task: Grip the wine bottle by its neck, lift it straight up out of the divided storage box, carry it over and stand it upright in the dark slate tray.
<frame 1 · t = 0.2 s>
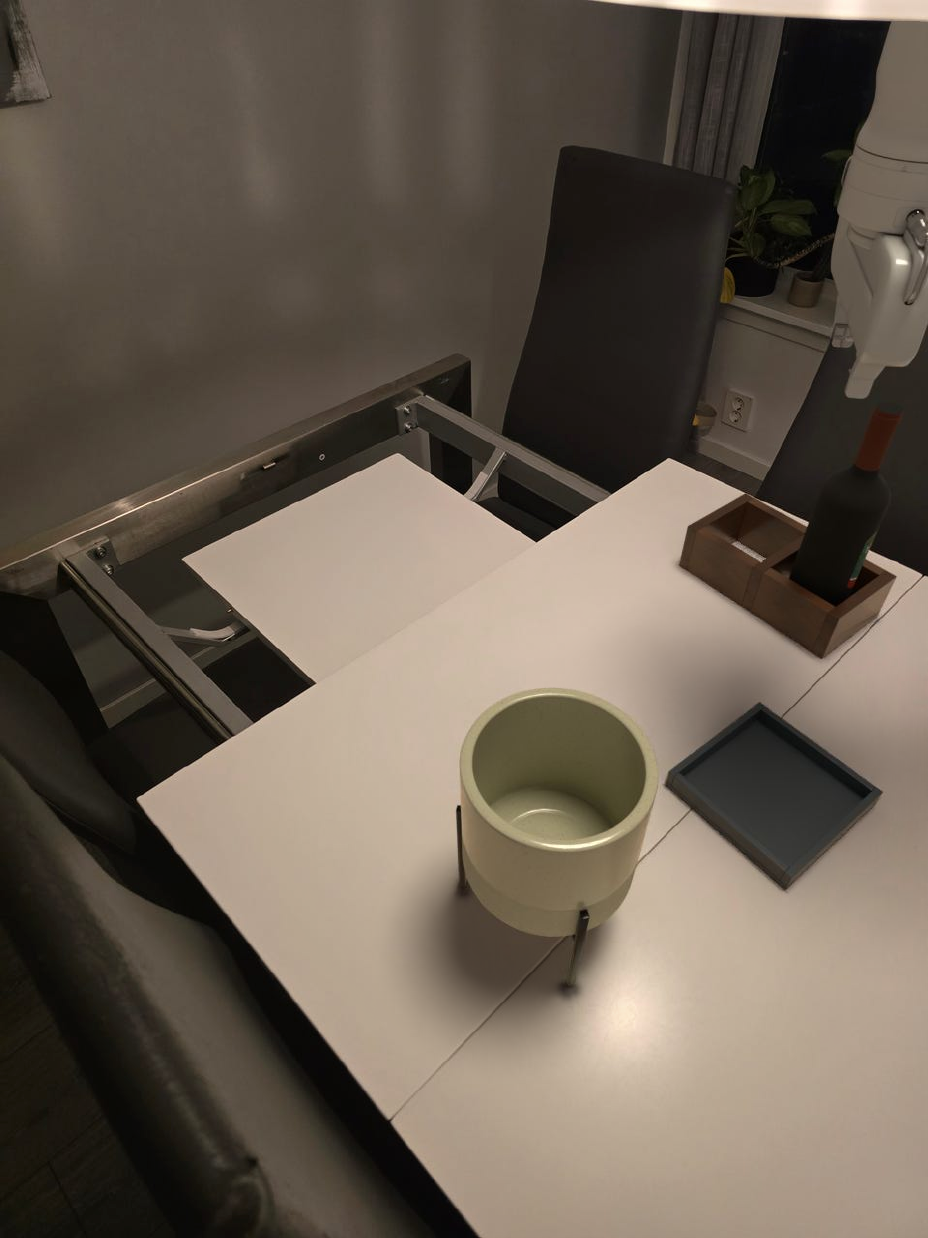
hand: (846, 367, 68), 41 cm above the table, tool pointing down, fingers open, 8 cm apart
wine bottle: (808, 612, 105), resting in divided storage box
tray: (768, 794, 84), on the table
planter: (544, 900, 76), on the table
divided storage box: (774, 589, 108), on the table
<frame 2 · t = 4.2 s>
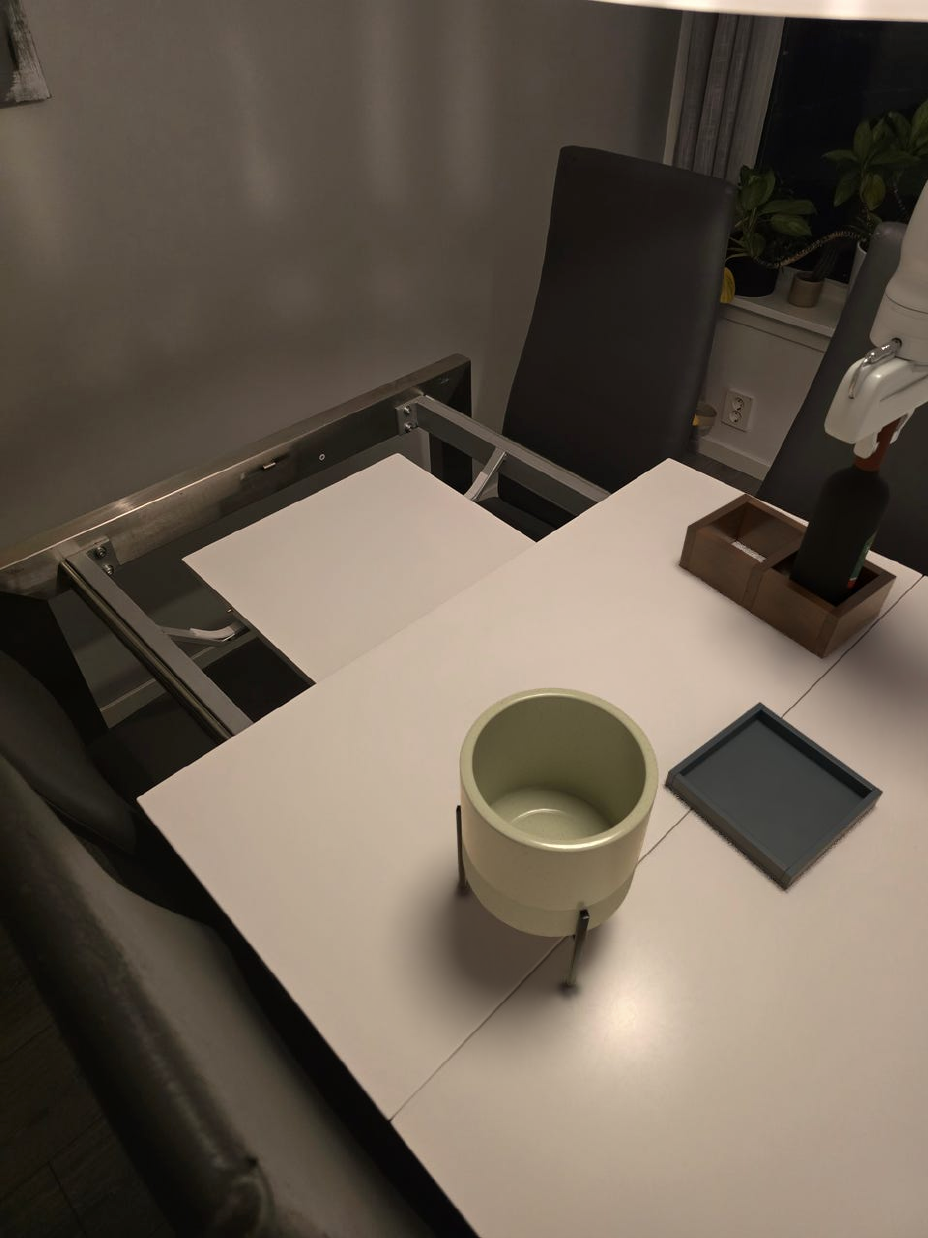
hand: (874, 447, 87), 25 cm above the table, tool pointing down, fingers closed on wine bottle, 3 cm apart
wine bottle: (808, 612, 105), resting in divided storage box, touching gripper
everything else where it was.
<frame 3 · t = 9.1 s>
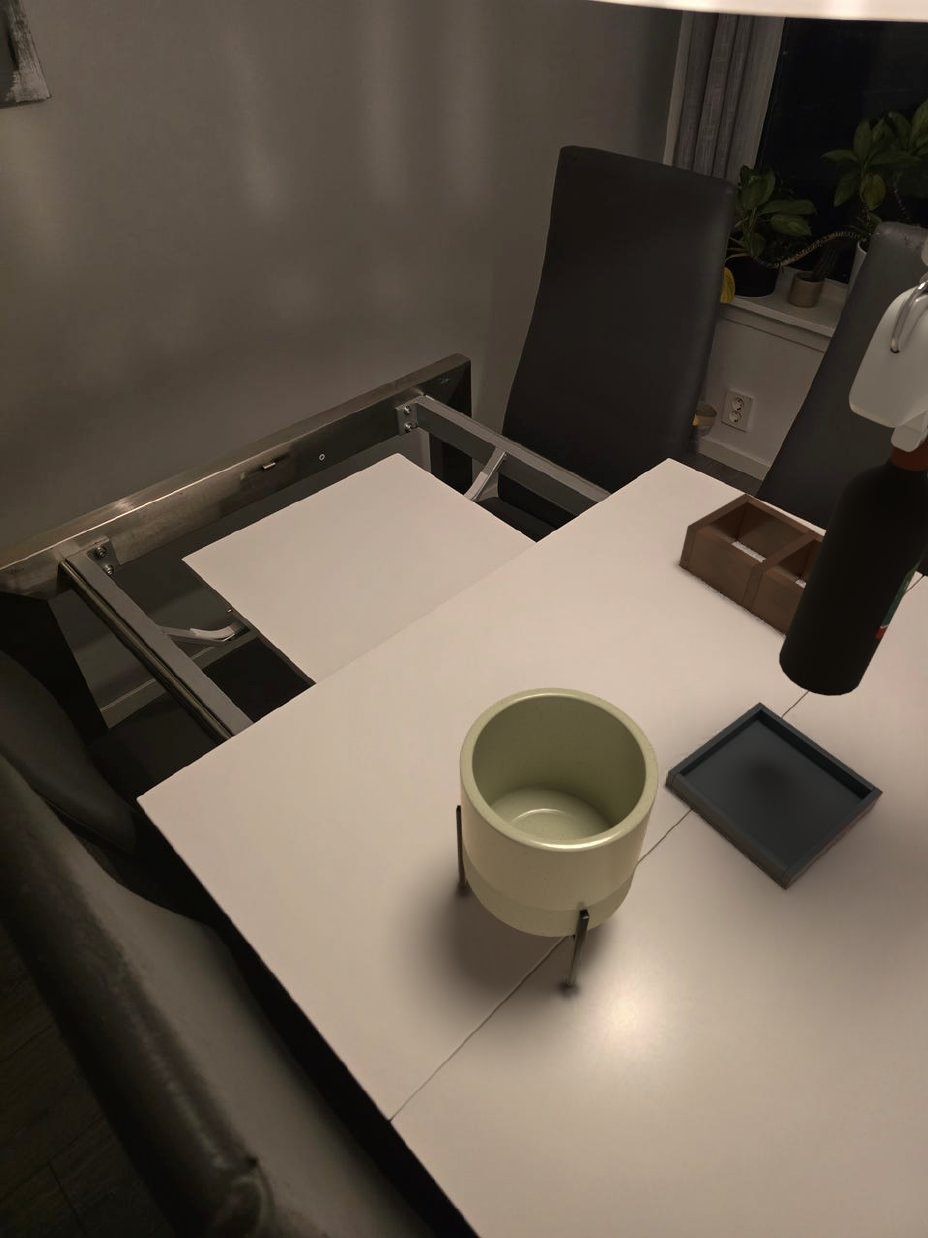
hand: (921, 435, 58), 42 cm above the table, tool pointing down, fingers closed on wine bottle, 3 cm apart
wine bottle: (819, 667, 75), point 17 cm above the table, touching gripper
everything else where it was.
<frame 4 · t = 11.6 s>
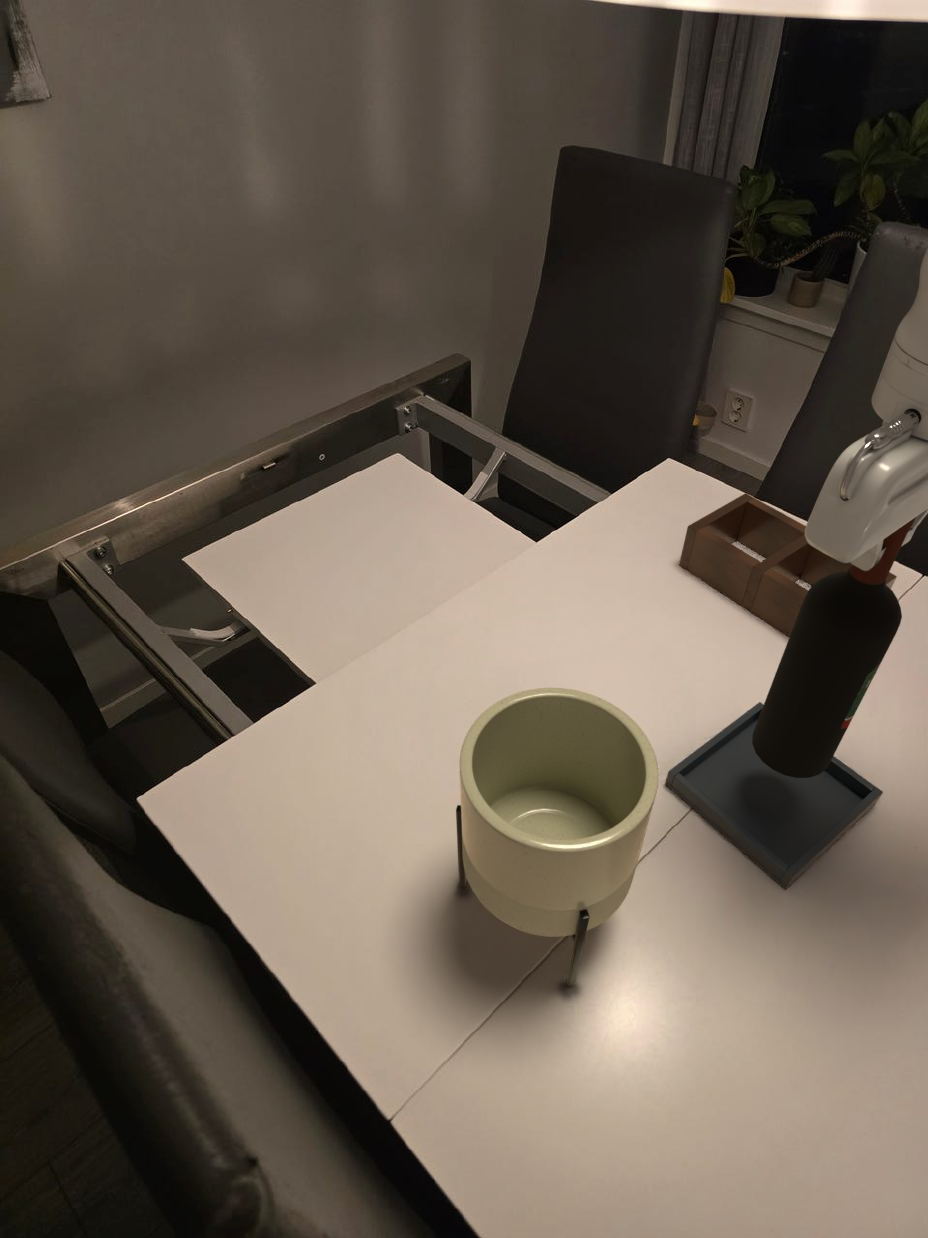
hand: (878, 552, 61), 33 cm above the table, tool pointing down, fingers closed on wine bottle, 3 cm apart
wine bottle: (790, 748, 79), point 8 cm above the table, touching gripper
everything else where it was.
when the fingers open (26 cm above the table, at t = 14.0 s): wine bottle stays where it is, resting on tray.
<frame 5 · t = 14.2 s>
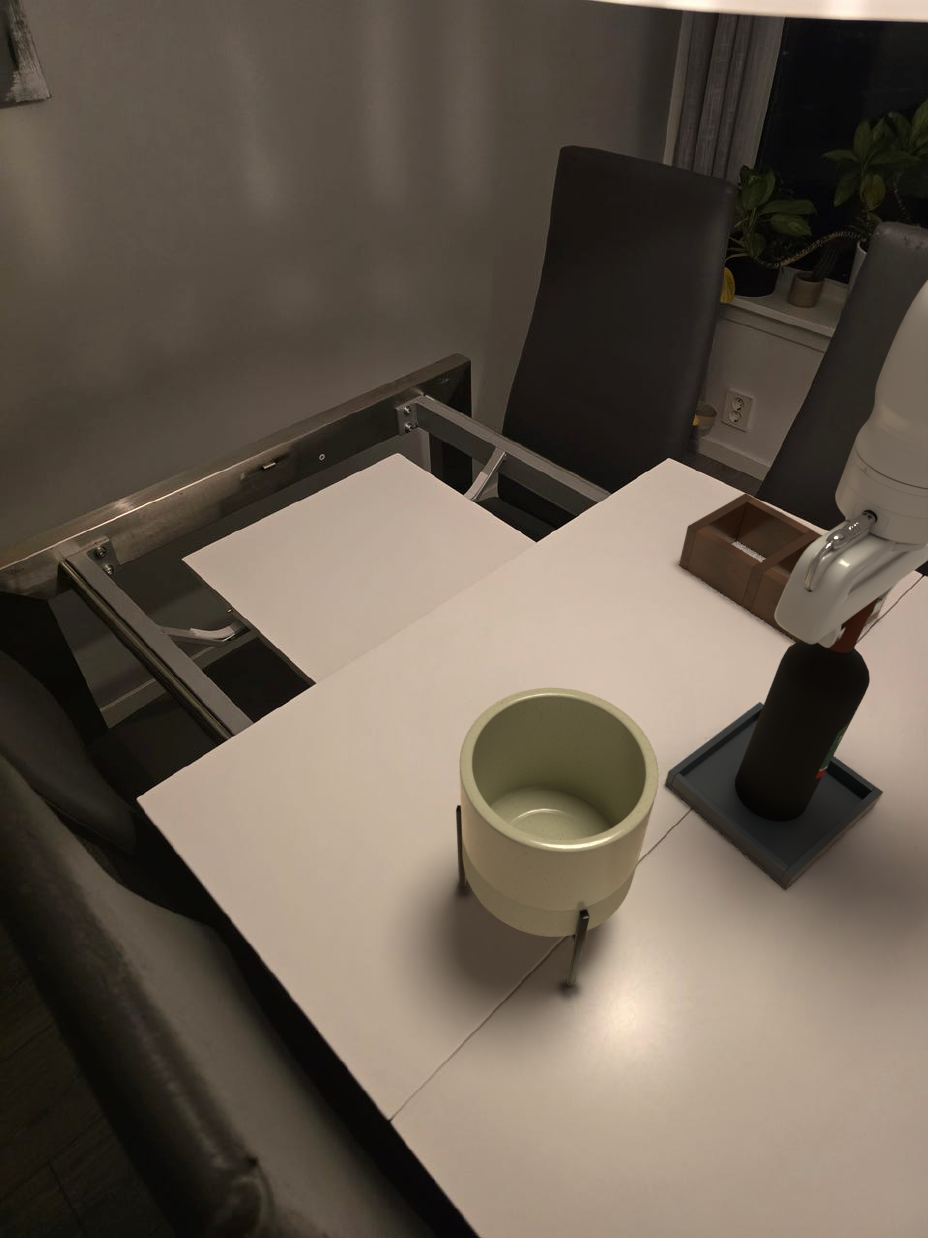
hand: (845, 624, 67), 26 cm above the table, tool pointing down, fingers open, 4 cm apart
wine bottle: (770, 791, 84), resting on tray
everything else where it was.
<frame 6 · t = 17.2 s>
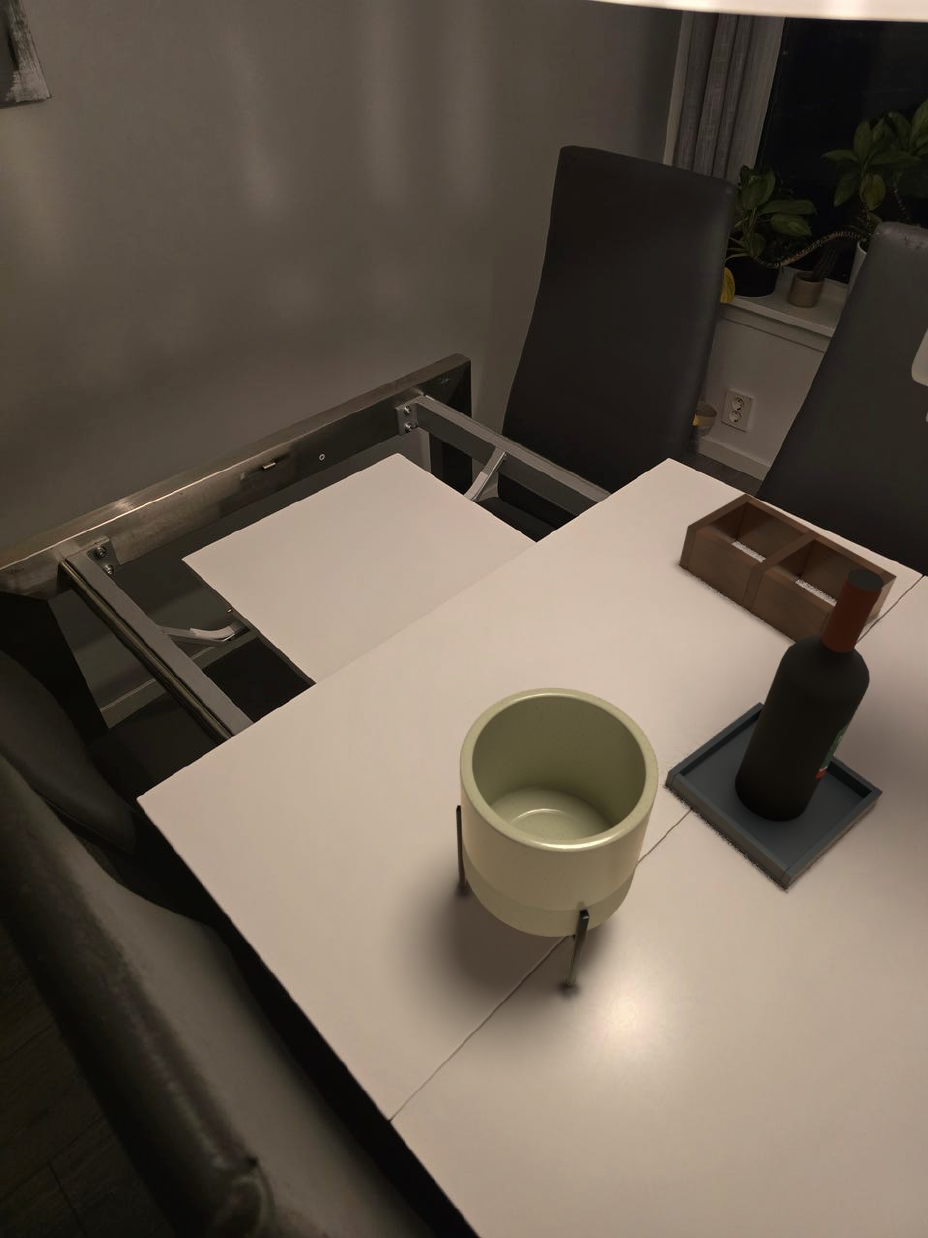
nothing on the table moved.
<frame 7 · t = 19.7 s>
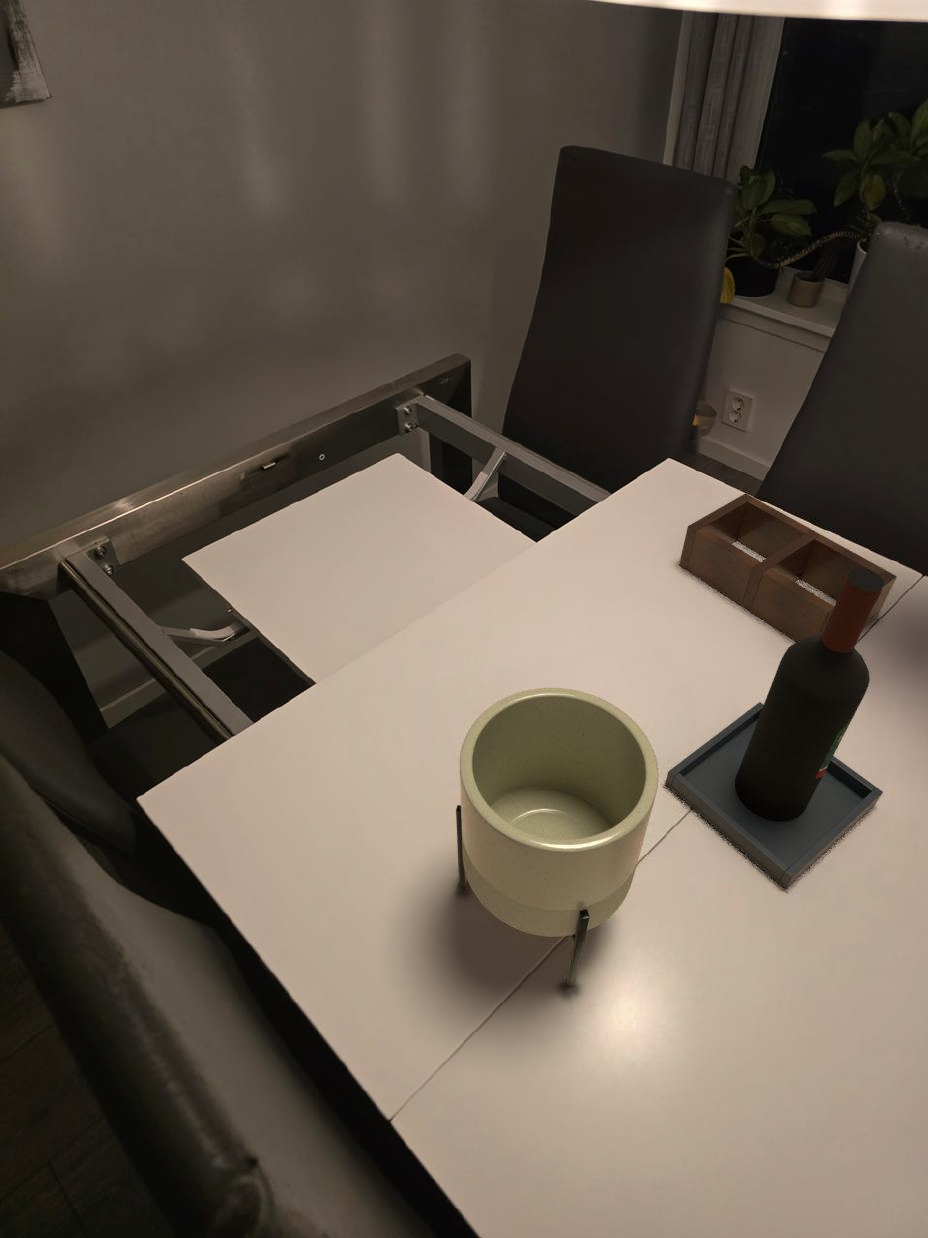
nothing on the table moved.
at the end: wine bottle inside the target area in the tray (0.1 cm from its centre), point 0.4 cm above the tray's base; wine bottle tilted 0°; wine bottle touching tray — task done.
